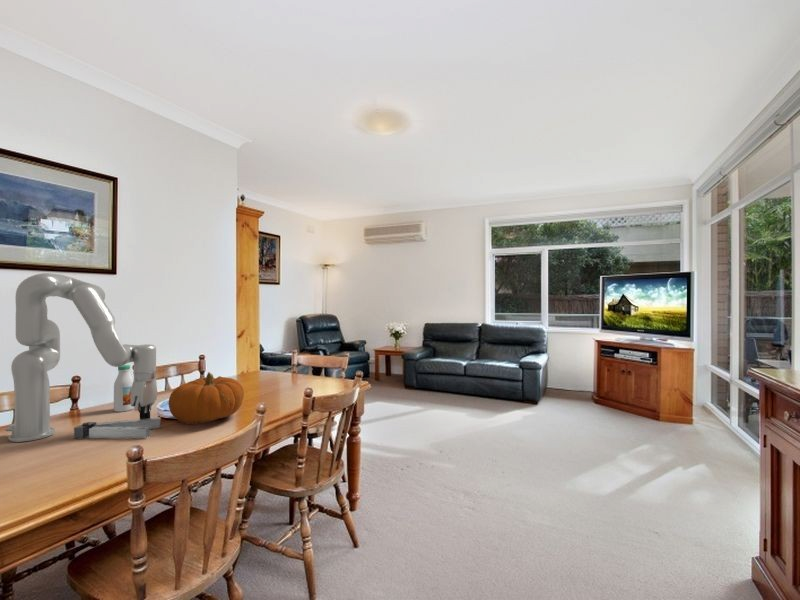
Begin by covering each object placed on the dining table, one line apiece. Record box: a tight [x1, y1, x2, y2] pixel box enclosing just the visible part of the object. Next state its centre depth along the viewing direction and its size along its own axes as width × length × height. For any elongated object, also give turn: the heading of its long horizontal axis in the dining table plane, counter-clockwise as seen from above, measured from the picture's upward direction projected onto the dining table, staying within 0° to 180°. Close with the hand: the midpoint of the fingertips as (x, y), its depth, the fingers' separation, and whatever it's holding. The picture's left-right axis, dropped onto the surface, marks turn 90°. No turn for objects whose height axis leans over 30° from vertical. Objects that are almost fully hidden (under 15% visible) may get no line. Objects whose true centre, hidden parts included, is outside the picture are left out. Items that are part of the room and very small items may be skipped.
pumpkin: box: [168, 371, 245, 425], centre depth 167 cm, size 28×28×20 cm
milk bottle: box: [113, 364, 135, 413], centre depth 180 cm, size 8×8×20 cm
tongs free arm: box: [96, 416, 162, 430], centre depth 152 cm, size 20×2×4 cm, turn 112°
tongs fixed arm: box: [73, 421, 151, 439], centre depth 147 cm, size 26×6×5 cm, turn 90°
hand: (144, 421), depth 159 cm, fingers closed
